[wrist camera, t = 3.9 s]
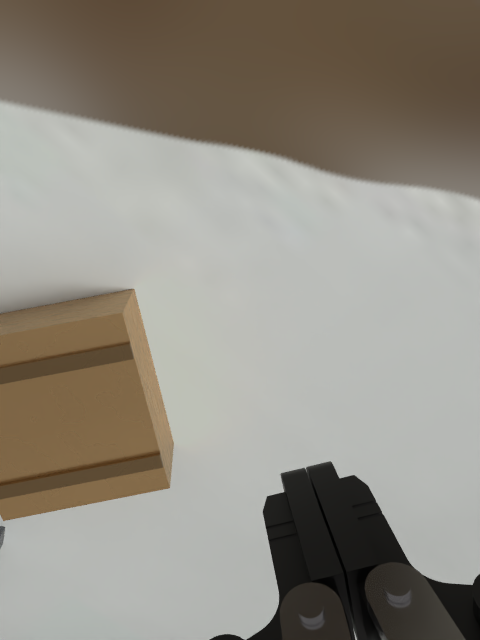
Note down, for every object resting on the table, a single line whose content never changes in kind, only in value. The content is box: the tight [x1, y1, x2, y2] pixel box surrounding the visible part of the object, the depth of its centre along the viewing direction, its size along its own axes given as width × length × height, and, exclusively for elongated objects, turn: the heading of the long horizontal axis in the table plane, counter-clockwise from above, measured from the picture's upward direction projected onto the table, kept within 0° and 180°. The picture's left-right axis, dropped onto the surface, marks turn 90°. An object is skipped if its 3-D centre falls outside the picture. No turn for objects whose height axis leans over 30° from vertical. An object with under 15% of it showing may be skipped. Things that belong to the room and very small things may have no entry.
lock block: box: [0, 289, 174, 521], centre depth 22 cm, size 8×9×4 cm
